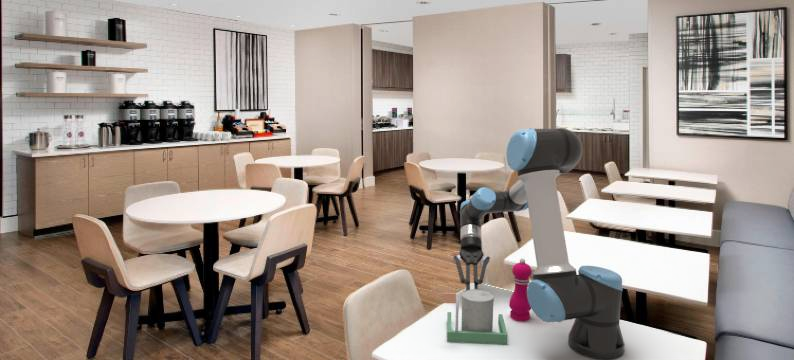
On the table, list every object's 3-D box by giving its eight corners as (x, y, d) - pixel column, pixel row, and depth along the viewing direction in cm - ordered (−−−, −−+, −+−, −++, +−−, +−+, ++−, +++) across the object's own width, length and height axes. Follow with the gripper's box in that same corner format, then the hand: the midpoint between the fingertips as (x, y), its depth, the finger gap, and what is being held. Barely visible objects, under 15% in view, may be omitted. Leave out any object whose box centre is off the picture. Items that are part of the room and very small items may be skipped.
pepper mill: (507, 312, 171) (510, 254, 168) (529, 313, 170) (532, 255, 167) (509, 321, 164) (511, 261, 161) (532, 322, 163) (535, 262, 160)
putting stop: (502, 323, 163) (503, 278, 161) (507, 344, 149) (509, 295, 147) (442, 320, 165) (443, 276, 162) (442, 341, 151) (443, 293, 149)
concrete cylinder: (491, 342, 151) (493, 302, 149) (459, 338, 153) (460, 299, 151) (493, 328, 160) (494, 290, 158) (462, 325, 162) (463, 288, 160)
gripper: (488, 245, 186) (491, 307, 173) (452, 244, 188) (452, 306, 174) (490, 235, 180) (493, 299, 167) (453, 234, 181) (452, 297, 168)
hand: (472, 302), depth 170 cm, fingers closed
